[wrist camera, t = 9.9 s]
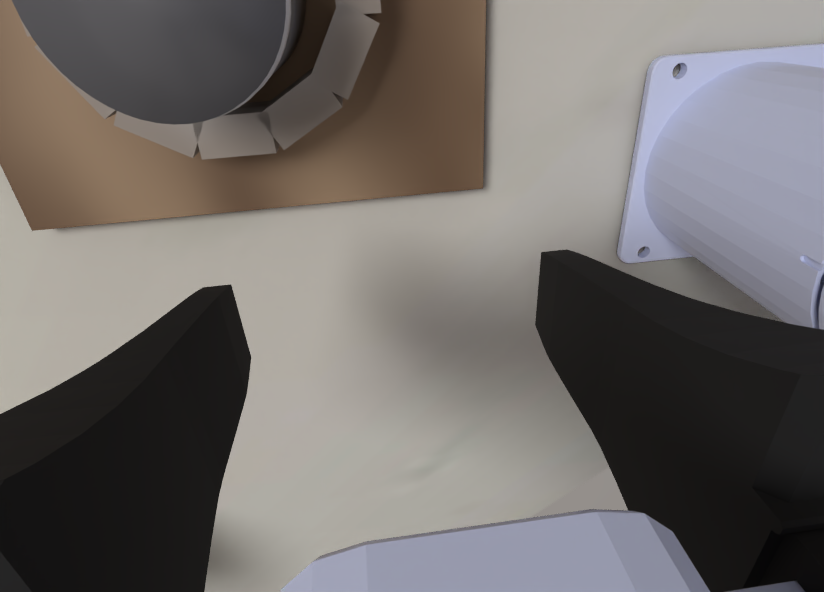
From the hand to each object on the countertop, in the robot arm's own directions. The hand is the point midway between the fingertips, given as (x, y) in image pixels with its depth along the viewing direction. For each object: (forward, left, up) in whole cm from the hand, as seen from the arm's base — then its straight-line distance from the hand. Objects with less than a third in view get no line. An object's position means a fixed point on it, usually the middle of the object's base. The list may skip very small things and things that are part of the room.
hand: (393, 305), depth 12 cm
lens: (+4, -7, -8) cm, 11 cm away
